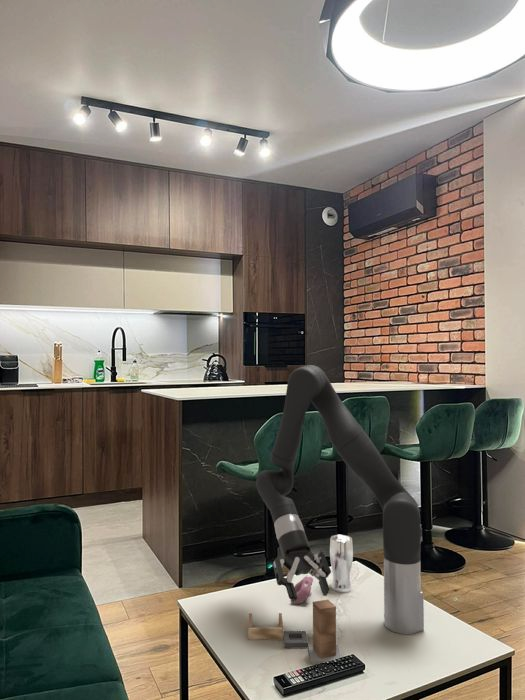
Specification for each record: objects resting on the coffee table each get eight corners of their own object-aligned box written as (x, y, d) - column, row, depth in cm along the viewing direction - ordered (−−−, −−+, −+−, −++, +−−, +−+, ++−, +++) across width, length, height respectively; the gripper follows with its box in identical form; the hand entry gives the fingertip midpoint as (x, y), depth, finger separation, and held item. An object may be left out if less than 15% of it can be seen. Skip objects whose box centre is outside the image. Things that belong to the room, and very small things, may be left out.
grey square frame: (305, 635, 128) (305, 630, 128) (308, 647, 122) (308, 642, 122) (283, 635, 128) (283, 631, 128) (284, 648, 122) (284, 642, 122)
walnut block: (328, 646, 122) (328, 599, 122) (336, 655, 118) (335, 606, 118) (312, 649, 121) (312, 601, 121) (320, 658, 117) (320, 609, 117)
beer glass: (356, 586, 157) (356, 537, 157) (347, 595, 151) (347, 543, 152) (335, 581, 161) (335, 533, 161) (326, 589, 155) (325, 539, 155)
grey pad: (337, 647, 123) (337, 644, 123) (342, 663, 116) (342, 661, 116) (308, 647, 123) (308, 644, 123) (311, 664, 116) (311, 661, 116)
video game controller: (303, 611, 144) (314, 589, 144) (288, 603, 145) (299, 581, 145) (306, 596, 154) (317, 576, 153) (293, 588, 155) (303, 568, 154)
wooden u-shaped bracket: (281, 622, 134) (281, 613, 135) (283, 639, 126) (283, 628, 126) (248, 623, 134) (248, 613, 134) (248, 639, 126) (248, 629, 126)
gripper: (270, 531, 132) (288, 595, 121) (319, 525, 137) (341, 586, 126) (262, 546, 137) (279, 608, 126) (310, 539, 142) (331, 599, 131)
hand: (310, 597), depth 126 cm, fingers open, 8 cm apart
